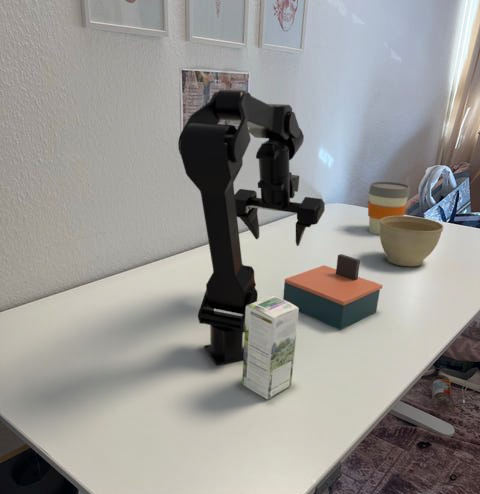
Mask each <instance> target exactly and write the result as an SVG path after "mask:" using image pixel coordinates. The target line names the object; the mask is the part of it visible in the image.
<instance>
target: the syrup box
mask: <svg viewBox="0 0 480 494" xmlns="http://www.w3.org/2000/svg"><path fill="white" fill-rule="evenodd" d="M299 313H300V312H299V308H298V307H297V306H295V305H293V304H291V303H290V302H288V301H285V300H283V298H280V297H277V296H274V295H269V296H266V297H264V298H262V299H260V300H257V302H254V303H252V304H249V305H247V306H246V312H245V332H244V334H243V348H244V358H243V361H242V380H241V382H242V383H241V385H242V386H243V387H245V388H247V389H249V390H250V391H252V392H253V393H255V394H257V395H259V396H260V397H262V398H264V399H265V400H270V399H272V398H274V397H275V396H277V395H279V394H280V393H282V392H284V391H285V390H287V389H288V388H290V387H291V386H292V381H293V370H294V369H293V368H294V360H295V350H296V341H297V332H298V331H297V329H298V321H299Z"/></svg>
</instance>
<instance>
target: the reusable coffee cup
mask: <svg viewBox="0 0 480 494" xmlns="http://www.w3.org/2000/svg"><path fill="white" fill-rule="evenodd" d="M410 190H411V186H410V185H408V184H406V183H402V182H395V181H374V182H371V183H370V186H369V190H368V194H369V200H368V201H367V216H368V217H369V219H368V220H369V221H368V232H370V233H372V234H374V235H379V236H380V220H381V219H382V218H384V217H389V216H405V213H406V209H407V206H408V205H407V201H408V199H409V198H410V193H411V192H410Z"/></svg>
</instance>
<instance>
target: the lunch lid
mask: <svg viewBox="0 0 480 494" xmlns="http://www.w3.org/2000/svg"><path fill="white" fill-rule="evenodd" d="M360 265H361V259H358V258H355V257H353V256H349V255H346V254H341V253H340V254H338V255H337V260H336V268H333V267H330V266H328V265H321V266H318V267H314V268H312V269H310V270H306V271H303V272H301V273H297V274H295V275H291V276H288V277H287V278H284V283H288V284H290V285H293V286H295V287H298V288H300V289H303V290H306V291H308V292H311V293H313V294H316V295H318V296H321V297H323V298H326V299H328V300H331V301H333V302H336V303H338V304H341V305H343V306H344V305H346V304H348V303H351V302H353V301H355V300H357V299H360V298H362V297H364V296H366V295H368V294H371V293H373V292H375V291H377V290H380V291H381V289H383V284H380V283H377V282H375V281H371V280H370V279H369V280H368V279H366V278H363V277H360V276H359V273H360Z"/></svg>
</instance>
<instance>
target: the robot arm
mask: <svg viewBox="0 0 480 494" xmlns="http://www.w3.org/2000/svg"><path fill="white" fill-rule="evenodd" d="M220 121H228V122H231V123H233V124H237V125H238V127H237V128H236V126H235V125H232V124H222V123H221V124H219V123H220ZM298 122H299V121H298V120H297V117H296V113H295V112H294V111H293V108H292V106H291V105H290V104H284V103H283V104H281V103H279V104H278V103H266V102H265V101H262V100H260V99H259V98H256V97H254V96H252V95H251V93H250V92H247V91H246V90H241V89H240V90H238V89H236V90H235V89H219V91H215V92H214V93H213V94H212V96H211V98H210V100H209V102H207V103H206V104H204V105H203V106H202V107H200V108H199V109H198V110H195V112H194V113H192V114H190V116H189V118H188V120H187V121H186V123H185V125H184V126H183V129H182V130H181V132H180V134H179V137H178V143H177V145H178V146H177V147H178V152H179V154H180V157H181V161H182V164H183V169H184V172H185V175H186V176H187V178H189V179H190V181H191V182H192V183H193V185H194V186H195V187H196V188H197V189H198V191H199V192H200V199H201V202H202V203H201V204H202V210H203V217H204V222H205V229H206V235H207V242H208V246H209V253H210V258H211V259H210V260H211V265H212V273H211V275H210V277H209V279H208V281H207V282H206V284H205V292H204V295H203V298H202V301H201V304H200V307H199V309H198V312H197V319H198V323H199V324H202V325H208V326H210V327H209V328H210V334H209V335H210V339H209V340H210V343H209V344H205V345H204V346H203V350H204V351H205V353H206V354H208V357H210V359H211V360H212V361H213V363H214V364H215V365H217V366H220V365H224V364H228V363H232V362H238V361H242V360H243V358H244V334H245V312H246V306H247V305H249V304H252V303H254V302H257V301H258V290H257V289H256V286H257V283H256V280H255V270H254V268H253V266H252V265H251V266H249V265H244V264H243V261H242V260H243V259H242V250H241V242H240V241H241V240H240V232H239V223H238V218H239V219H240V220H241V221H242V223H244V225H245V226H246V227H247V228H248V230H249V231H250V233H251V234H252V236H253V237H254V239H255V240H259V238H260V225H259V224H260V223H259V217H258V210H259V209H260V210H266V211H267V210H268V211H276V212H277V211H278V212H286V213H293V214H294V213H295V214H296V220H297V221H296V223H295V245H296V246H297V247H299V246H300V244H301V242H302V240H303V236H304V233H305V231H306V228H311V226H314V225H317V224H318V223H319V222H320V219H321V218H322V216H323V214H324V212H325V205H326V204H325V201H324V200H323V198H318V197H310V196H304V198H303V199H302V201H301V202H296V201H295V202H294V201H291V199H294V198H295V194H296V193H297V192H299V187H300V186H299V185H300V175H297V174H292V171H290V161H291V160H293V158H294V157H295V155H296V154H297V153H298V151H299V150H300V148H301V146H302V145H303V143H304V141H305V140H304V139H305V135H304V133H303V130H302V128H300V126H299V123H298ZM251 136H253V138H256V139H268V140H266V141H264V142H263V143H261V144H260V146H259V147H258V149H257V151H256V154H255V158H256V159H257V160H258V171H259V180H258V182H257V188H258V189H260V197H258V194H257V191H256V190H252V189H245V188H239V189H238V190H237V191H236V192H235V188H234V183H235V180H236V179H237V176H238V175H239V173H240V171H241V169H242V167H243V161H244V160H243V159H244V158H243V157H244V156H245V154H246V151H247V149H248V147H249V144H250V142H251ZM295 192H296V193H295ZM228 312H229V313H228ZM237 314H238V315H237Z"/></svg>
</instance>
